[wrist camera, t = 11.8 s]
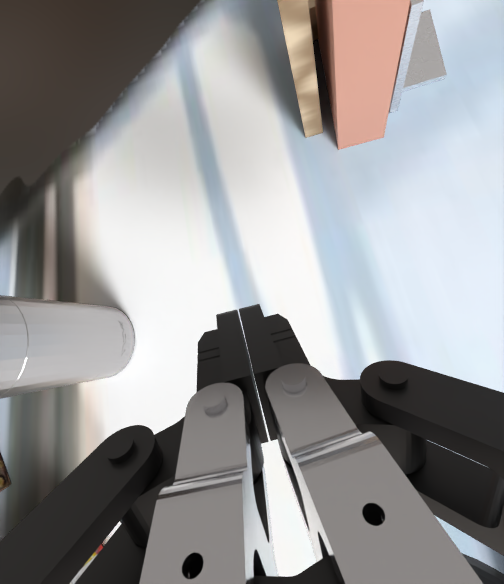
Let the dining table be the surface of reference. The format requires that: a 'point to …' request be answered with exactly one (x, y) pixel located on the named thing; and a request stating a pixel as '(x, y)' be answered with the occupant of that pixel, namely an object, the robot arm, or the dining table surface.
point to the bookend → (417, 54)
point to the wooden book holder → (303, 58)
